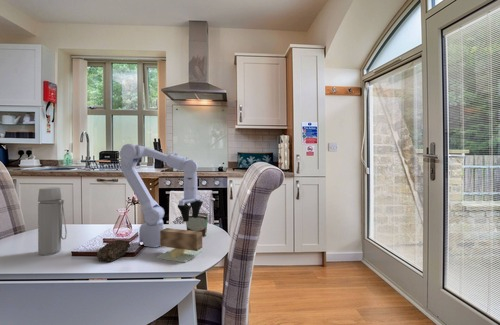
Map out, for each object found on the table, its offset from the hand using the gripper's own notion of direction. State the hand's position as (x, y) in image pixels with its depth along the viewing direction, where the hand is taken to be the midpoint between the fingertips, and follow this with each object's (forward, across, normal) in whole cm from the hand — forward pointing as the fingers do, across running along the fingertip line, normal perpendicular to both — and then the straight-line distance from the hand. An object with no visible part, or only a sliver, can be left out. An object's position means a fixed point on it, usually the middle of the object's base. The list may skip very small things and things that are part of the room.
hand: (190, 219), depth 114 cm
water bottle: (+10, -28, +44) cm, 53 cm away
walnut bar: (+7, -13, -4) cm, 16 cm away
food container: (+11, +14, +4) cm, 18 cm away
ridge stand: (+10, -13, -4) cm, 17 cm away
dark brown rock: (+11, -23, +19) cm, 32 cm away
